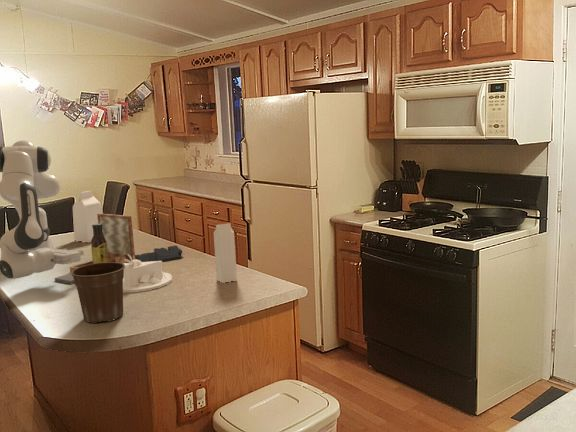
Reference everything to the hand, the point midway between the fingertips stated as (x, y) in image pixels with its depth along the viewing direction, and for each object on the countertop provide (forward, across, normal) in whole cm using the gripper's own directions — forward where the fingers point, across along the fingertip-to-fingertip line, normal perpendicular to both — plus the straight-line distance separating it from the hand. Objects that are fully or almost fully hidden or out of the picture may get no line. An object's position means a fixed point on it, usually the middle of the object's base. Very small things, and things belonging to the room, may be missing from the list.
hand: (74, 251), depth 225 cm
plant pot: (-27, -47, +12) cm, 55 cm away
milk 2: (+22, -59, +12) cm, 64 cm away
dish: (+6, -29, +12) cm, 32 cm away
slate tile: (-2, 0, +11) cm, 11 cm away
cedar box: (+13, 0, +11) cm, 17 cm away
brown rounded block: (+18, -6, +11) cm, 22 cm away
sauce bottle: (+12, 0, +11) cm, 17 cm away
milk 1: (+53, +57, +10) cm, 79 cm away
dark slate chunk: (+37, -8, +12) cm, 39 cm away
